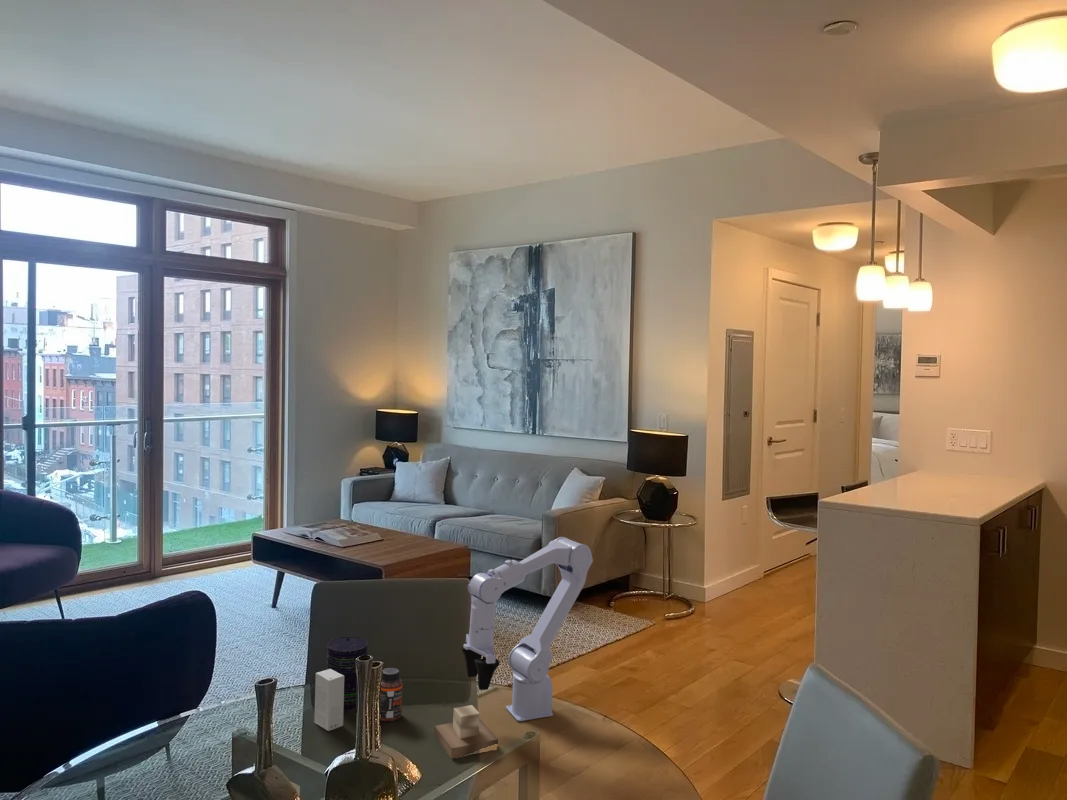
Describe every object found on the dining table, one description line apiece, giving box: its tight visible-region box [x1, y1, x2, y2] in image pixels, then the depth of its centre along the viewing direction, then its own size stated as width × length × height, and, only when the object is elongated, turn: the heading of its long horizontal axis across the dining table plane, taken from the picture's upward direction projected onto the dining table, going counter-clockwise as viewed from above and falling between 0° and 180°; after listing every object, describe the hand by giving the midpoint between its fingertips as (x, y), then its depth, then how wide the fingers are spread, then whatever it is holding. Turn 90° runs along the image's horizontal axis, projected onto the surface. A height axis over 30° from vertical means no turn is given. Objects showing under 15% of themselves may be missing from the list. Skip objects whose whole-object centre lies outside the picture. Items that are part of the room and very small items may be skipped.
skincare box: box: [313, 668, 344, 732], centre depth 184 cm, size 6×4×12 cm
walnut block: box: [433, 717, 499, 760], centre depth 178 cm, size 11×11×3 cm
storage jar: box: [326, 636, 369, 713], centre depth 196 cm, size 10×10×15 cm
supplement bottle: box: [380, 667, 404, 722], centre depth 189 cm, size 6×6×11 cm
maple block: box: [452, 704, 481, 739], centre depth 178 cm, size 4×4×5 cm
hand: (477, 682), depth 186 cm, fingers open, 7 cm apart
